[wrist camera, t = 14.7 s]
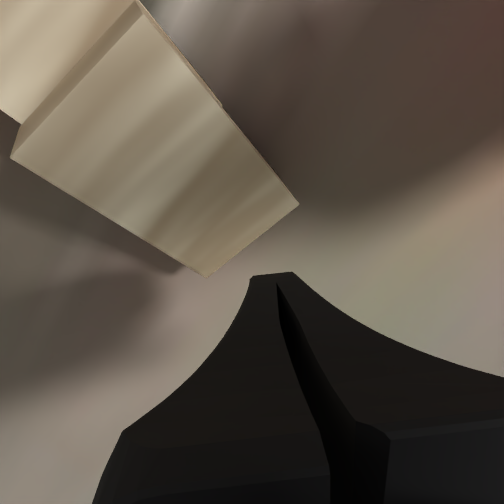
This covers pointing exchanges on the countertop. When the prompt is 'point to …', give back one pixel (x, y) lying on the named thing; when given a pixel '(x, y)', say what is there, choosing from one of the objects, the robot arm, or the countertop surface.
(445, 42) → the countertop surface
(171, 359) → the countertop surface
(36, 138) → the domino
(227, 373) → the robot arm
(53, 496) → the countertop surface
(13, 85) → the domino
